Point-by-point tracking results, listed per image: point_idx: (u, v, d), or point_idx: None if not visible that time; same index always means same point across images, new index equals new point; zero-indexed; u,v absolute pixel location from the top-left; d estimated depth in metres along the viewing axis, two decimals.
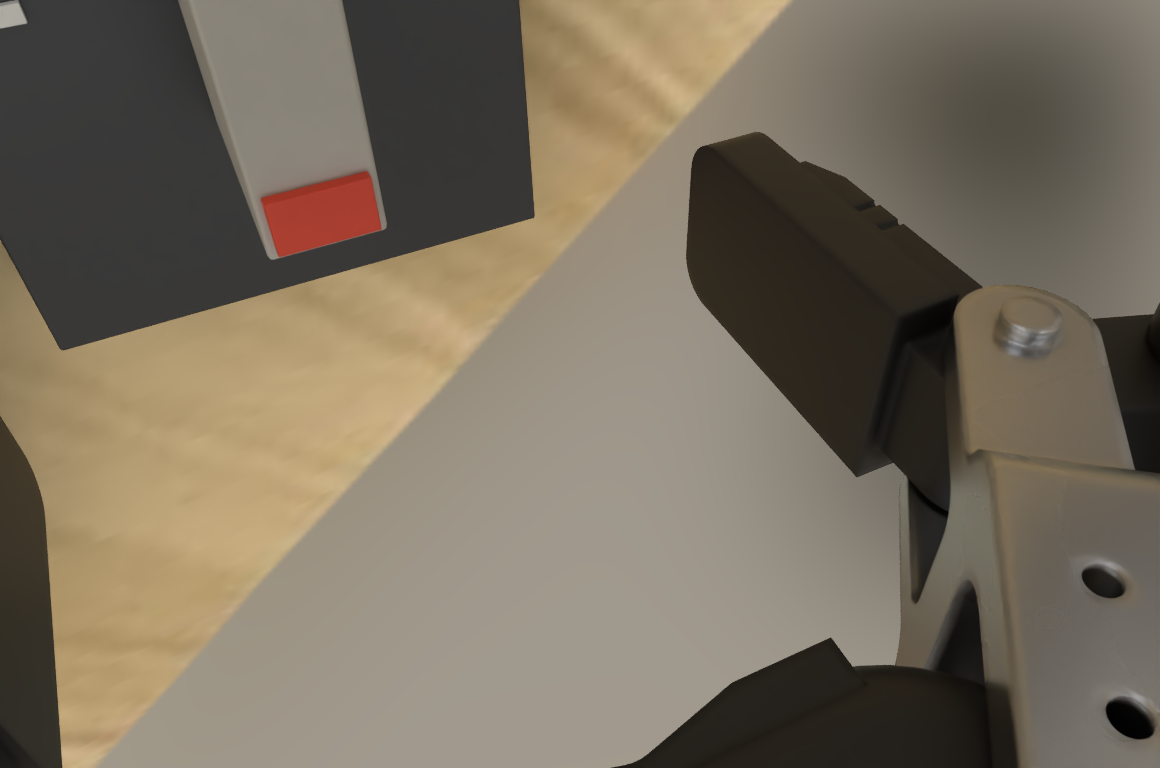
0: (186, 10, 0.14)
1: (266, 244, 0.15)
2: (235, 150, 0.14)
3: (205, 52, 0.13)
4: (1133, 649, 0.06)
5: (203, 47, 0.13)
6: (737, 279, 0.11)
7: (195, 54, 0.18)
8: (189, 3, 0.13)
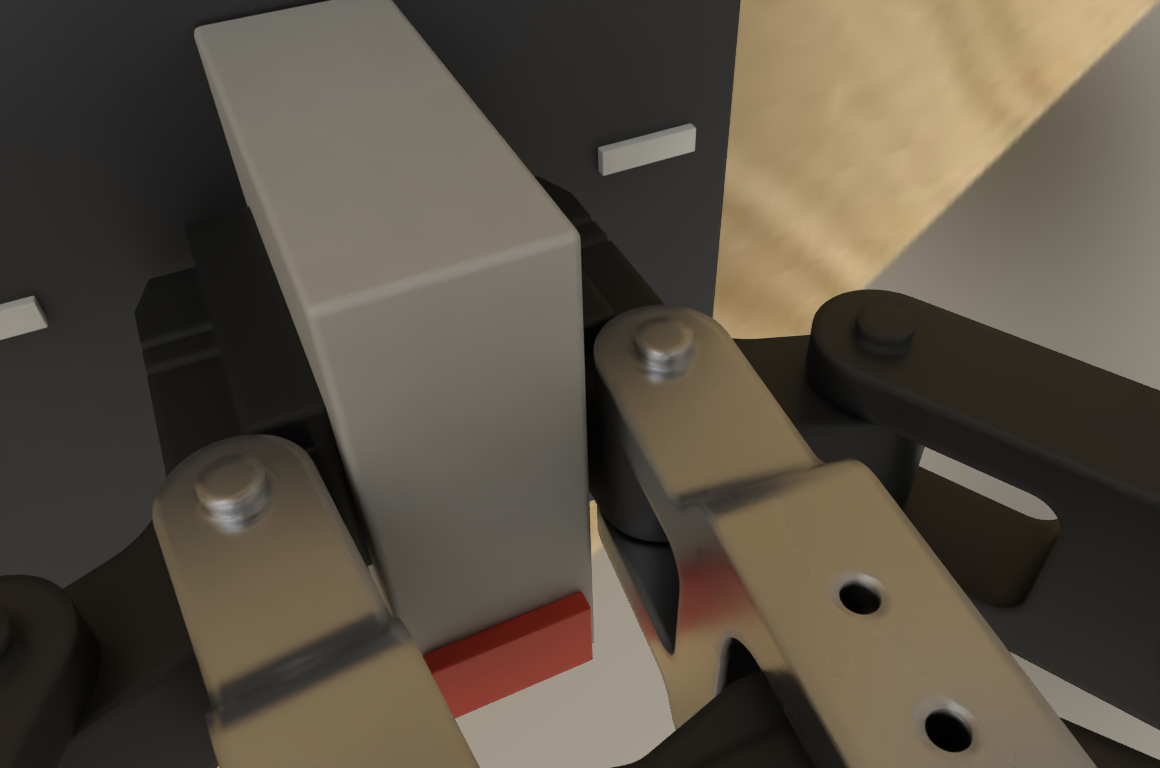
0: None
1: None
2: (391, 607, 0.09)
3: (361, 500, 0.08)
4: (916, 656, 0.06)
5: (359, 495, 0.08)
6: None
7: None
8: (343, 442, 0.07)
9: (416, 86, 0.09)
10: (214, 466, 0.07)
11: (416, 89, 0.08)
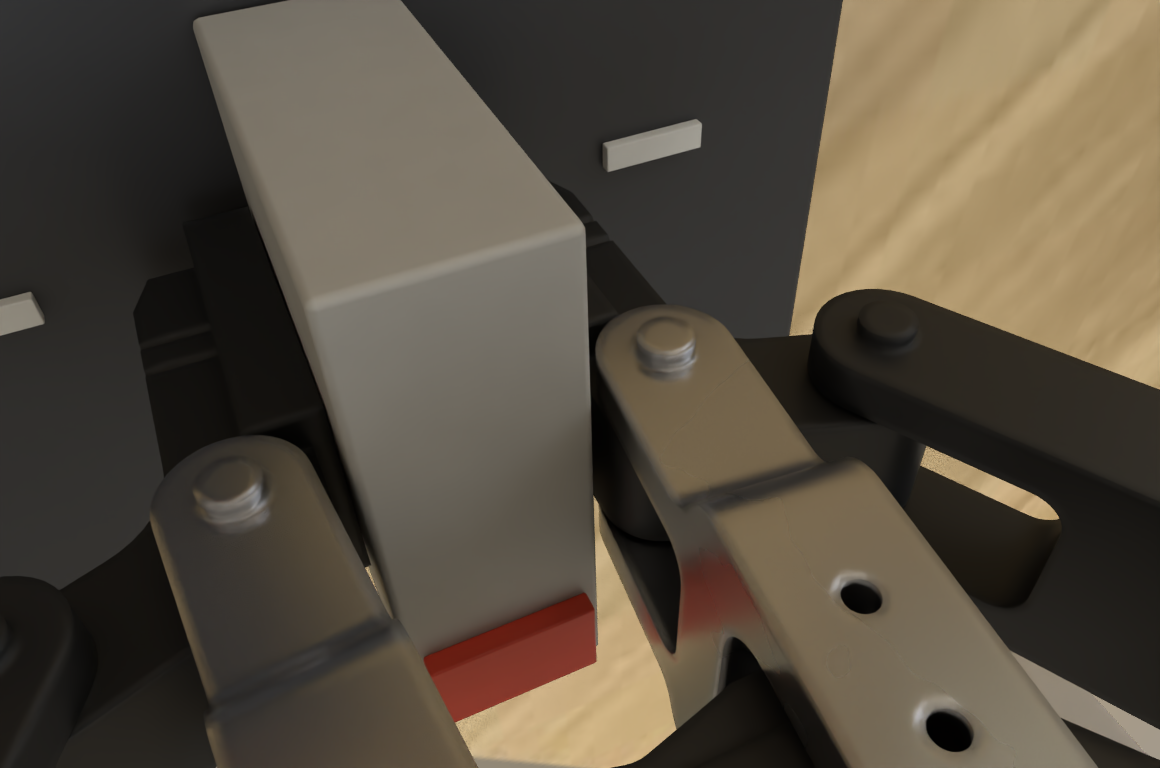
0: (309, 368, 0.09)
1: None
2: (392, 608, 0.09)
3: (361, 498, 0.07)
4: (917, 655, 0.06)
5: (359, 494, 0.07)
6: None
7: None
8: (343, 439, 0.07)
9: (418, 77, 0.08)
10: (212, 467, 0.07)
11: (418, 80, 0.08)
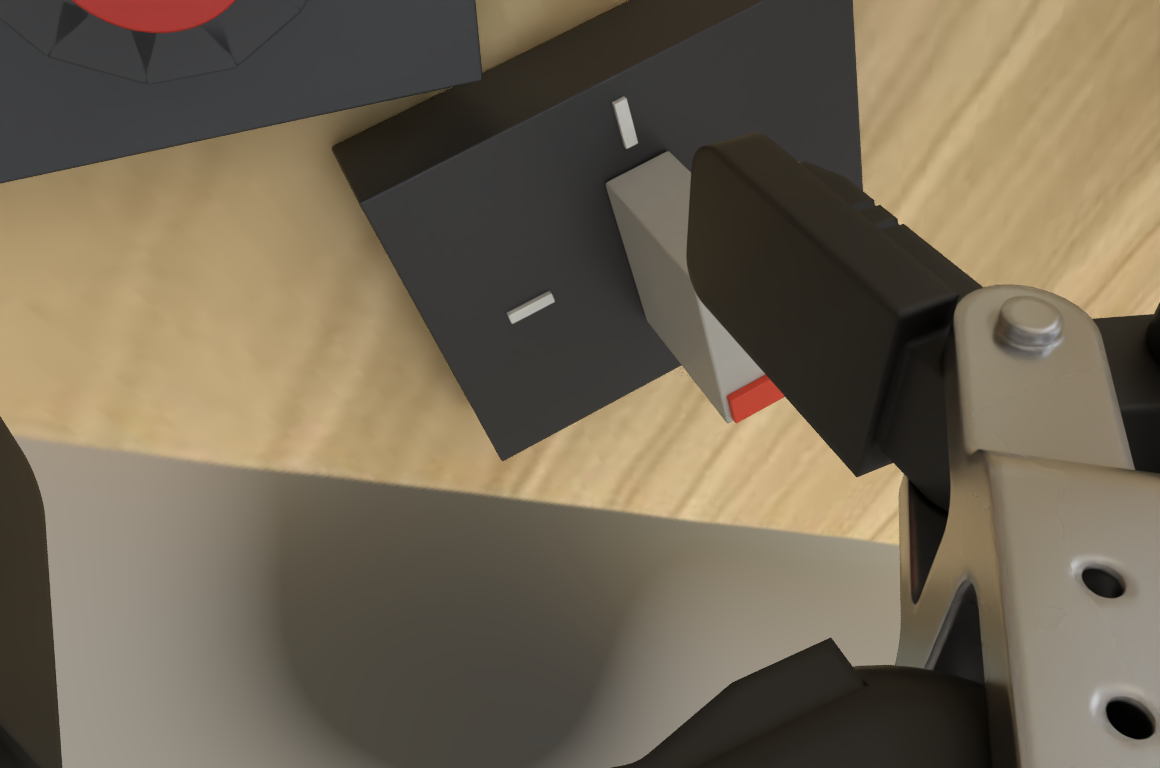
0: (673, 301, 0.25)
1: (726, 416, 0.26)
2: (716, 377, 0.25)
3: (706, 338, 0.24)
4: (1133, 649, 0.06)
5: (706, 337, 0.24)
6: (737, 279, 0.11)
7: (638, 290, 0.29)
8: (702, 320, 0.24)
9: None
10: None
11: None
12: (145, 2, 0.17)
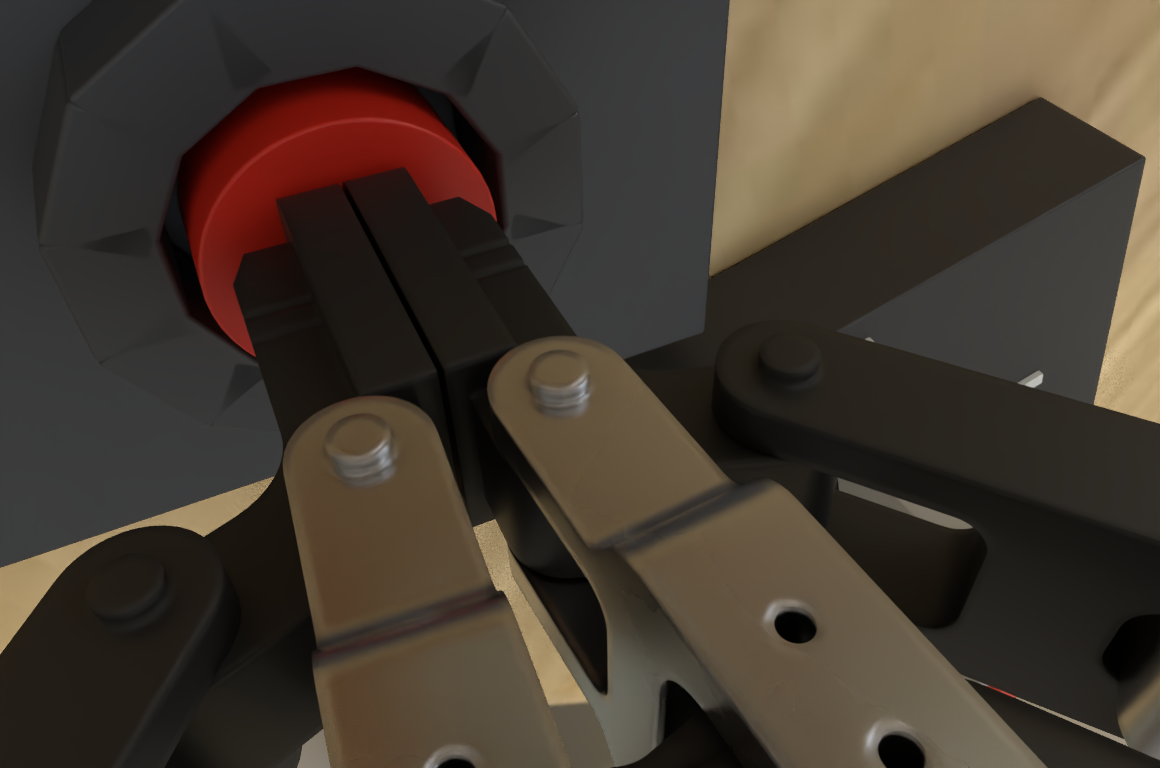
0: None
1: None
2: None
3: None
4: (859, 679, 0.05)
5: None
6: None
7: None
8: None
9: None
10: (344, 422, 0.08)
11: None
12: None
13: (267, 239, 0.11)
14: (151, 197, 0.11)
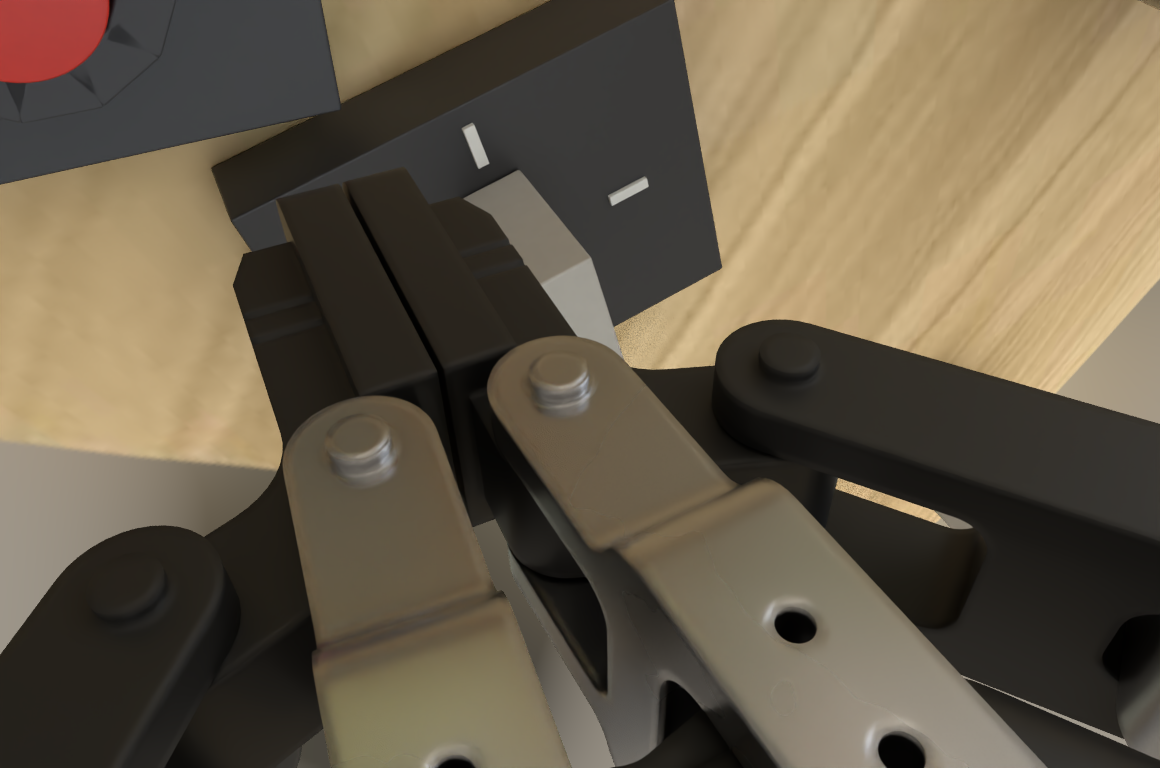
0: None
1: None
2: None
3: None
4: (859, 679, 0.05)
5: None
6: None
7: None
8: None
9: (538, 213, 0.28)
10: (344, 422, 0.08)
11: (539, 214, 0.28)
12: (9, 58, 0.19)
13: None
14: None
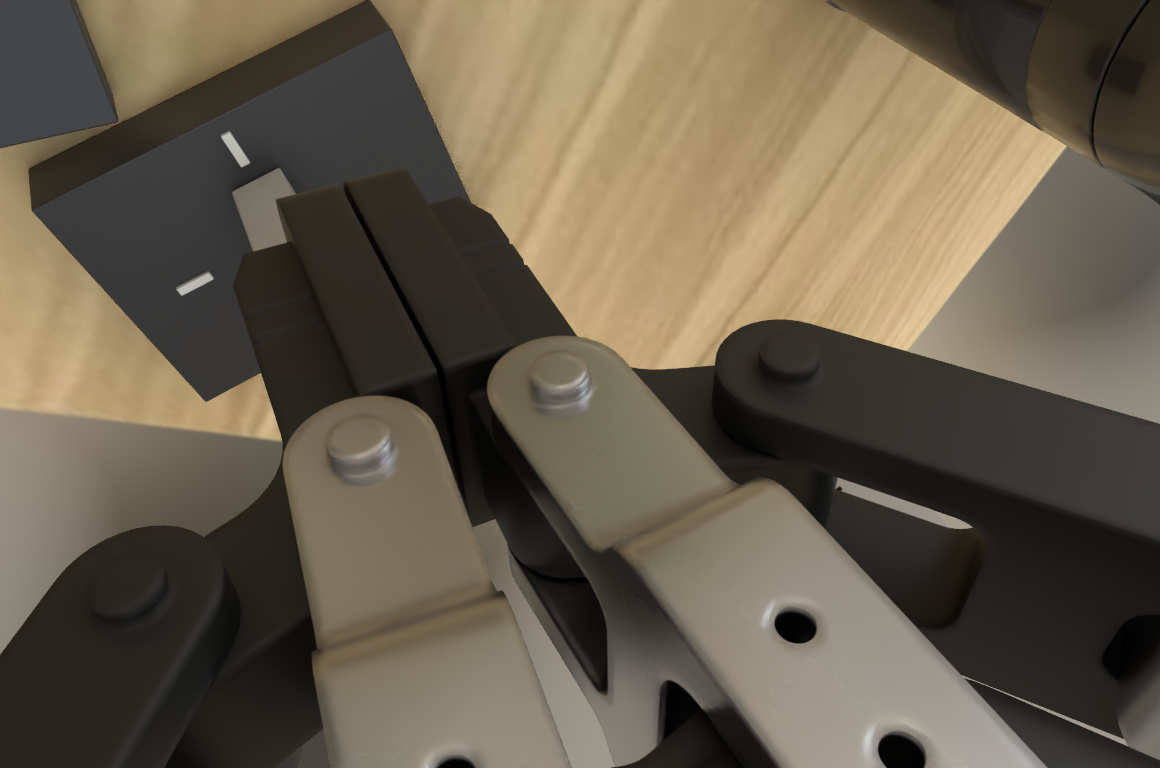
0: None
1: None
2: None
3: None
4: (859, 679, 0.05)
5: None
6: None
7: None
8: None
9: None
10: (344, 422, 0.08)
11: None
12: None
13: None
14: None
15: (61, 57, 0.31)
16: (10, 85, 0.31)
